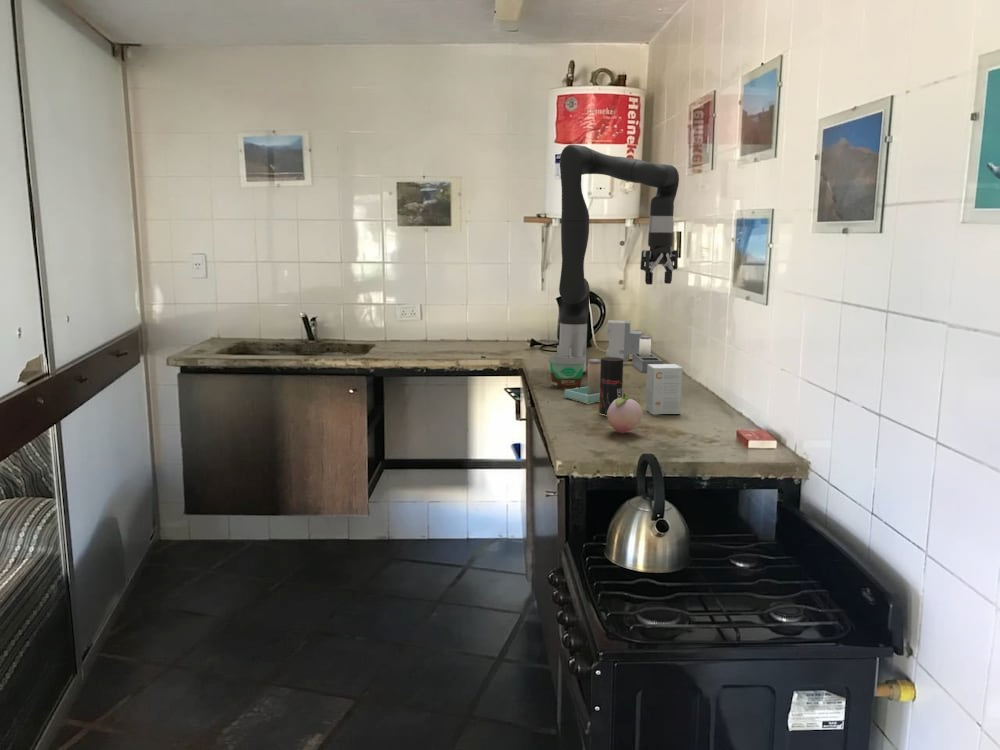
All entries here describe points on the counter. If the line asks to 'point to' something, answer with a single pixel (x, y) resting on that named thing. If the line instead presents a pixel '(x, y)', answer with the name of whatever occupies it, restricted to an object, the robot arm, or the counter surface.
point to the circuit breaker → (622, 340)
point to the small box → (664, 388)
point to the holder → (644, 355)
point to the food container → (566, 371)
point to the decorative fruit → (624, 414)
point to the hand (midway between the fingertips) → (658, 283)
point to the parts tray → (582, 395)
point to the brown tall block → (593, 376)
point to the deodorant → (610, 382)
